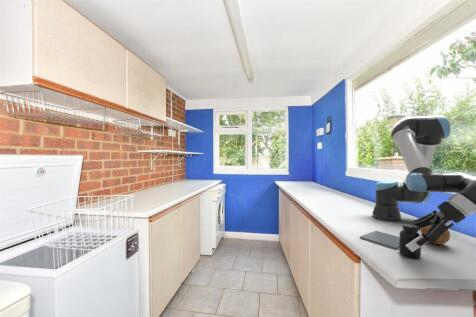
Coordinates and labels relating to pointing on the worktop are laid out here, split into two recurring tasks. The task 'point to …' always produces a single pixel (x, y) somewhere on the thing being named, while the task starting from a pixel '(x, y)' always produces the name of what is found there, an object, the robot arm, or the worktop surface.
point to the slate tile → (382, 239)
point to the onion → (441, 240)
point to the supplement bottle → (406, 237)
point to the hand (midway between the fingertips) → (404, 242)
